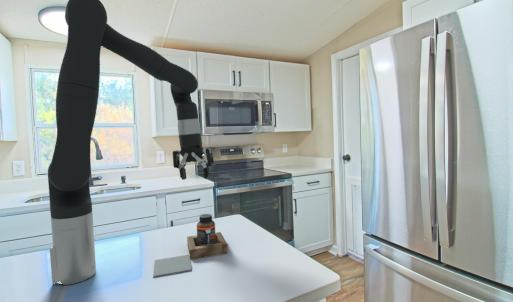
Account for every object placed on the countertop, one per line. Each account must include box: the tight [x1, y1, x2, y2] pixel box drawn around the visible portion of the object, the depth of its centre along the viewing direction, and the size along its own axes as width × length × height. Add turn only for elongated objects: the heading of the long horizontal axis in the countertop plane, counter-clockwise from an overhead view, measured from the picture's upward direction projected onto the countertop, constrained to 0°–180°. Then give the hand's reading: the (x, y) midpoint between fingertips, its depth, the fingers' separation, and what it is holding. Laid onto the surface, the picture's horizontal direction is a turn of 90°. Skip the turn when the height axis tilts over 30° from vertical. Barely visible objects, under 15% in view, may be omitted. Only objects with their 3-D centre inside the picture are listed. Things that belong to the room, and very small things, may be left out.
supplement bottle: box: [196, 213, 217, 247], centre depth 89 cm, size 6×6×11 cm
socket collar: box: [186, 231, 229, 261], centre depth 89 cm, size 12×12×3 cm
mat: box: [152, 254, 193, 279], centre depth 78 cm, size 10×10×1 cm
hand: (195, 178), depth 95 cm, fingers open, 8 cm apart
